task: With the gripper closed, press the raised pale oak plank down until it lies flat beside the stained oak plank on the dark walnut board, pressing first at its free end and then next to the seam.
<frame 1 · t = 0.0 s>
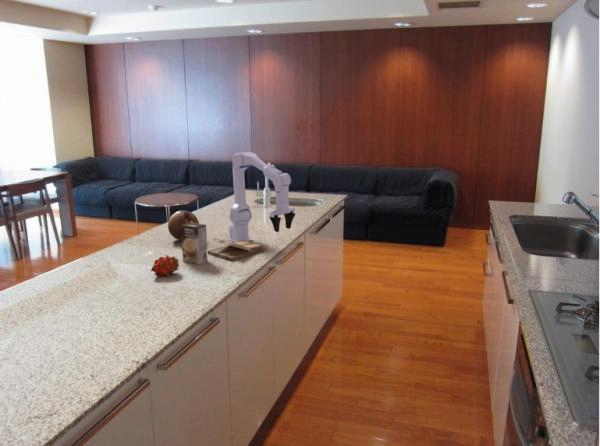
hand: (282, 230, 223), 10 cm above the counter, tool pointing down, fingers open, 7 cm apart
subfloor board: (236, 252, 224), on the counter
oak plank: (232, 244, 221), point 4 cm above the counter, hinge at 25.0°
wooden sphere: (184, 240, 244), on the counter
dragon fruit: (165, 275, 194), on the counter
coffee box: (195, 261, 212), on the counter
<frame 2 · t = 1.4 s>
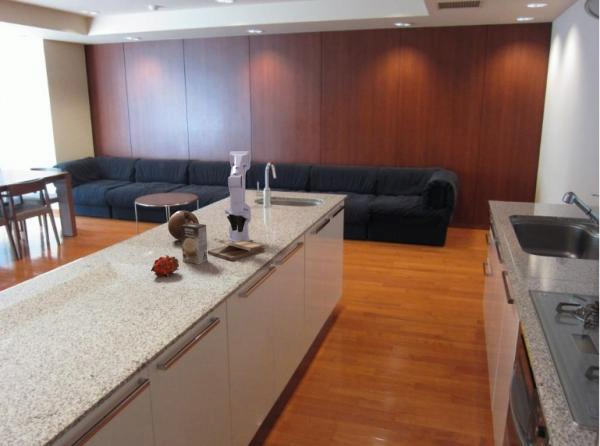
hand: (237, 231, 224), 9 cm above the counter, tool pointing down, fingers open, 3 cm apart
nothing on the counter moved.
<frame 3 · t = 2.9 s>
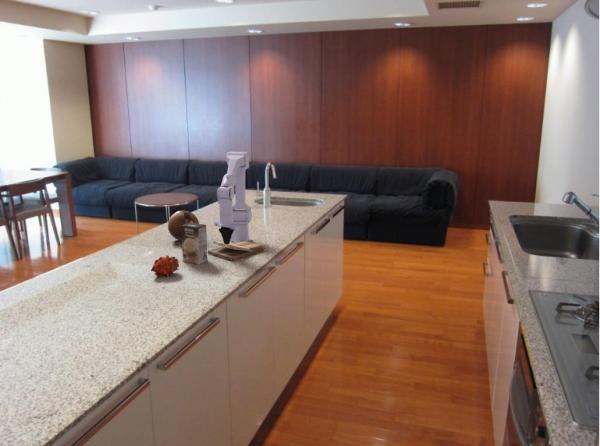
hand: (227, 243, 219), 5 cm above the counter, tool pointing down, fingers closed, pressing on oak plank
oak plank: (231, 245, 221), point 4 cm above the counter, hinge at 16.7°, touching gripper
everything else where it was.
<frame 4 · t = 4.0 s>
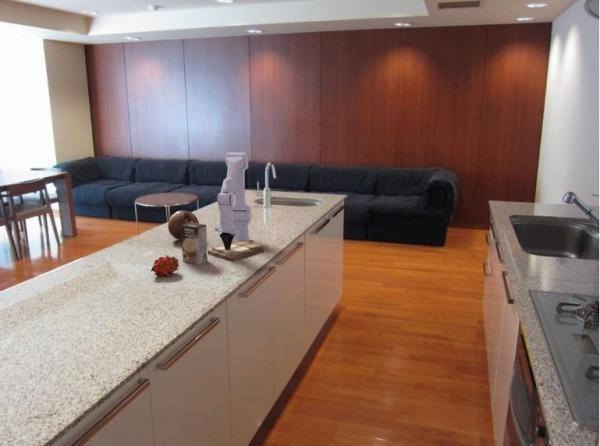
hand: (227, 249, 220), 3 cm above the counter, tool pointing down, fingers closed, pressing on oak plank
oak plank: (231, 249, 221), point 2 cm above the counter, hinge at -0.7°, touching gripper, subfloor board
everything else where it was.
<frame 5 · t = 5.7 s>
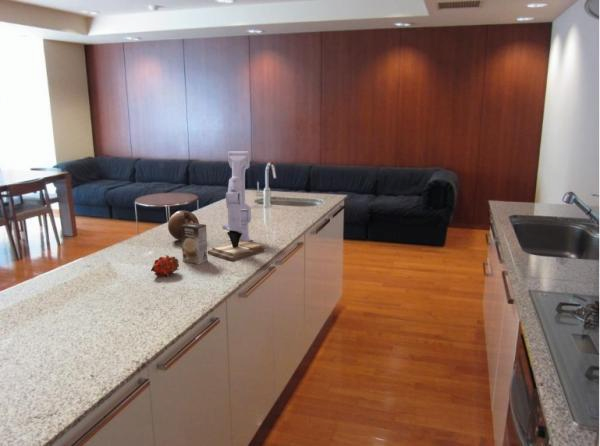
hand: (235, 246, 223), 3 cm above the counter, tool pointing down, fingers closed, pressing on oak plank
oak plank: (231, 249, 221), point 2 cm above the counter, hinge at -0.7°, touching gripper, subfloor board
everything else where it was.
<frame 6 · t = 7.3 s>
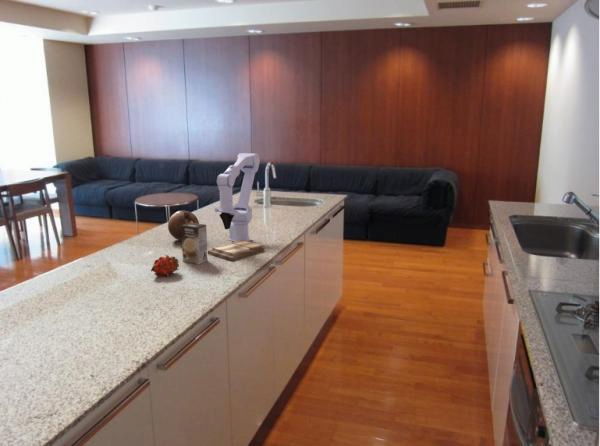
hand: (227, 228, 228), 9 cm above the counter, tool pointing down, fingers closed
oak plank: (231, 249, 221), point 2 cm above the counter, hinge at -0.6°, touching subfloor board
everything else where it was.
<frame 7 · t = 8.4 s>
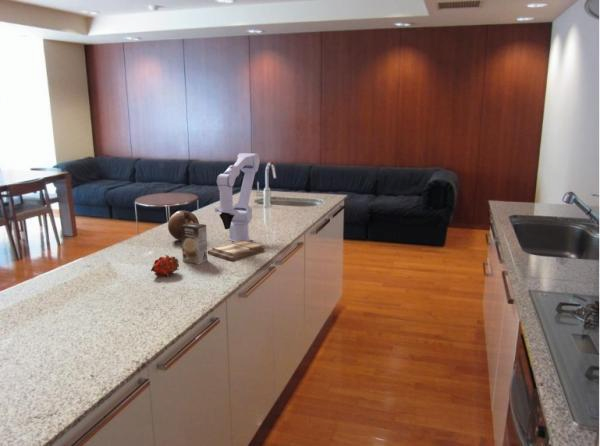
hand: (227, 228, 228), 9 cm above the counter, tool pointing down, fingers closed
nothing on the counter moved.
at the end: oak plank at -1° (first picture: +25°); coffee box moved 0.2 cm from its start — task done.
